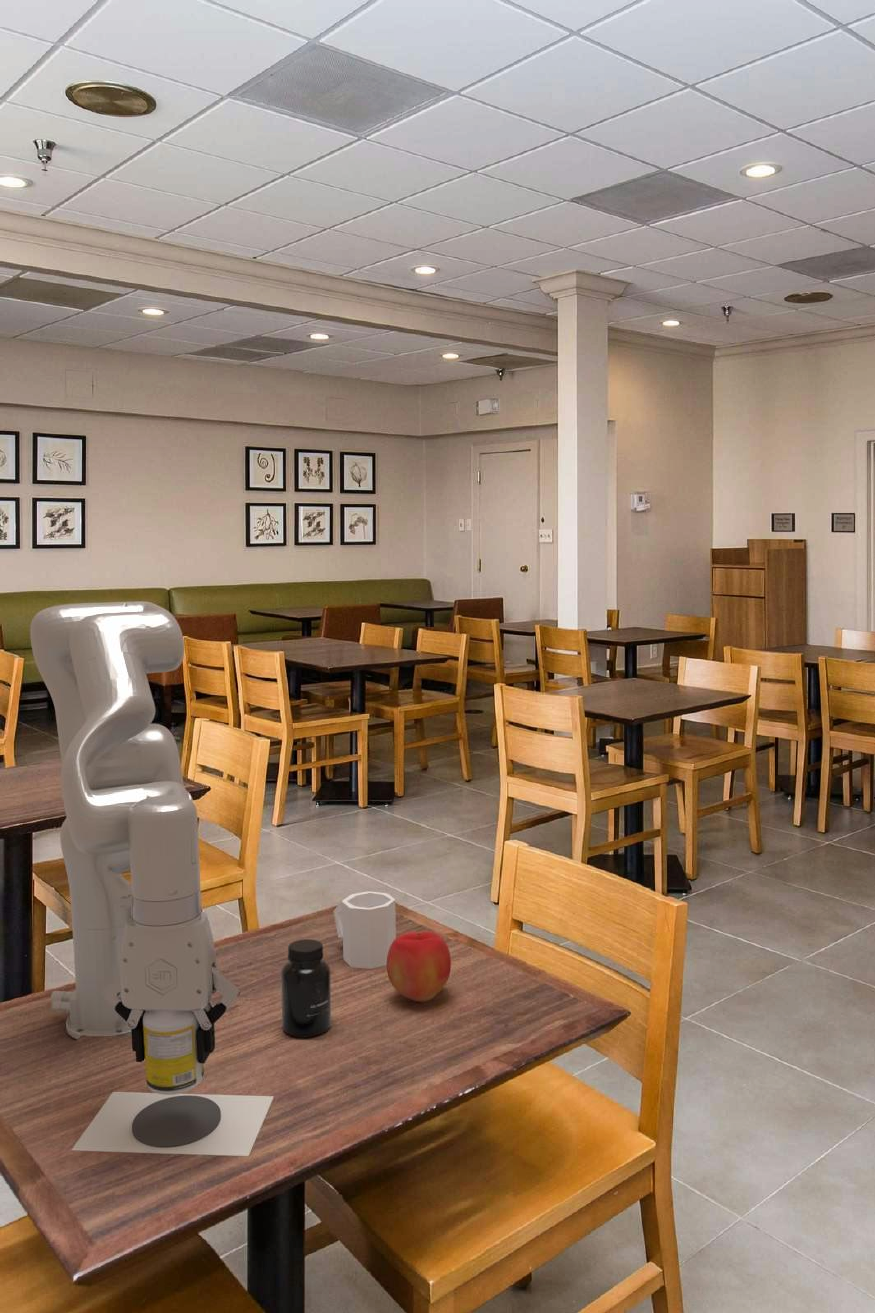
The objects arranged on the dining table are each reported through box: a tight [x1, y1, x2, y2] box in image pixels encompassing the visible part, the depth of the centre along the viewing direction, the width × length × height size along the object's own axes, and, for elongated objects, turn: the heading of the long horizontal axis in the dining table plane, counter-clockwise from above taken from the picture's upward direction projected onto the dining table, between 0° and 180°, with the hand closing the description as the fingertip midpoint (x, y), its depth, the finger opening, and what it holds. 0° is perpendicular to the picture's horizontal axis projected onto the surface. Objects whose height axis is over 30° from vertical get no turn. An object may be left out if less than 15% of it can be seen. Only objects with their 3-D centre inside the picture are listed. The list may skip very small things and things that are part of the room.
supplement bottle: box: [280, 938, 332, 1038], centre depth 143 cm, size 7×7×12 cm
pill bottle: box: [143, 1011, 205, 1095], centre depth 117 cm, size 6×6×12 cm
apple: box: [386, 931, 452, 1003], centre depth 152 cm, size 10×10×10 cm
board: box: [71, 1091, 275, 1157], centre depth 119 cm, size 20×12×1 cm, turn 86°
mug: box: [333, 891, 397, 970], centre depth 168 cm, size 12×9×10 cm
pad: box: [132, 1095, 221, 1148], centre depth 119 cm, size 10×10×1 cm
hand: (174, 1055), depth 118 cm, fingers closed on pill bottle, 6 cm apart
